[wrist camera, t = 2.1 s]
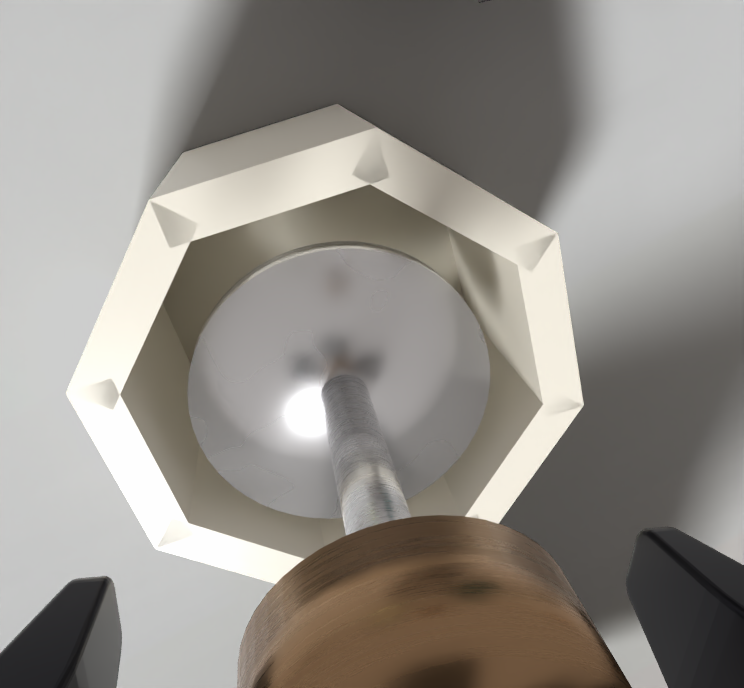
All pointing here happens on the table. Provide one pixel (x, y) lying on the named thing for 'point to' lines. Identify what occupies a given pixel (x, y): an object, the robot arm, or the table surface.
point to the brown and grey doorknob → (376, 483)
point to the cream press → (279, 235)
